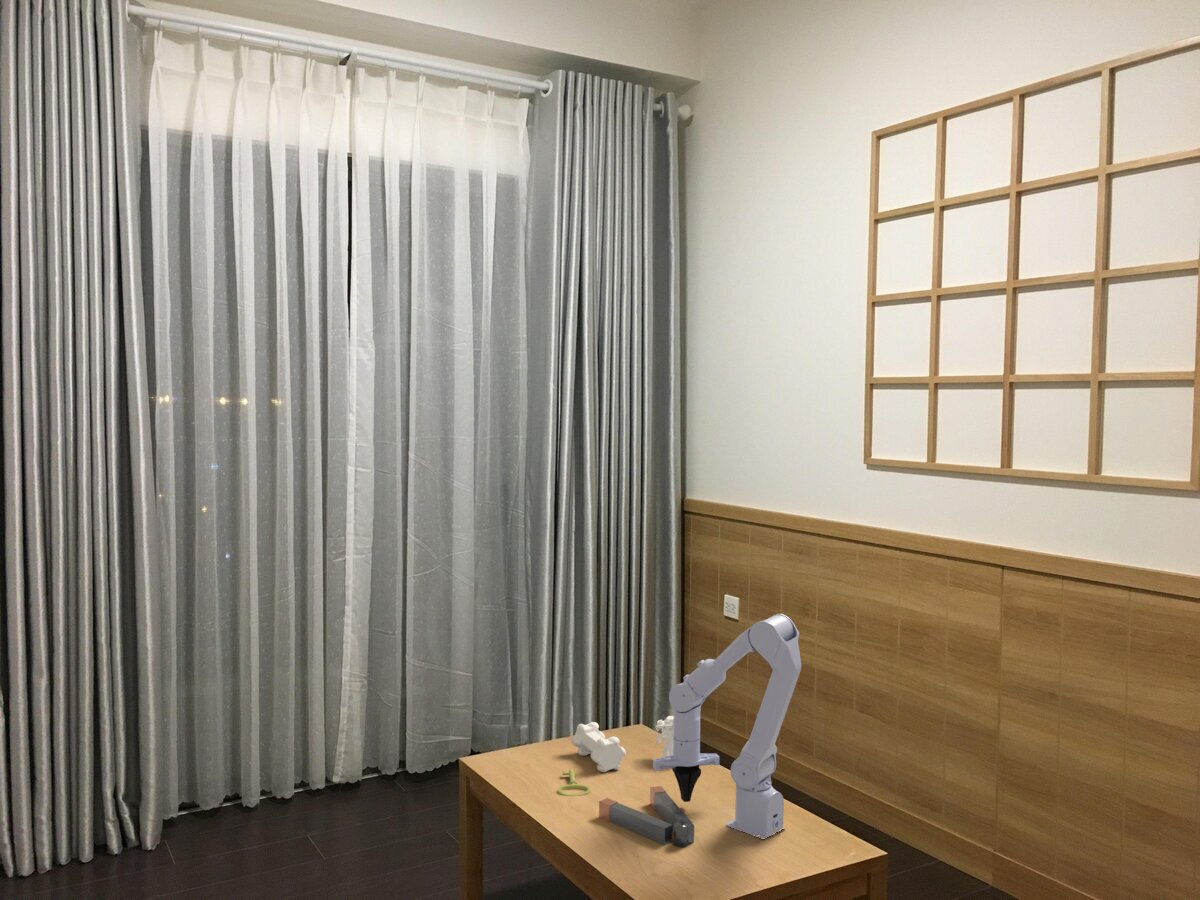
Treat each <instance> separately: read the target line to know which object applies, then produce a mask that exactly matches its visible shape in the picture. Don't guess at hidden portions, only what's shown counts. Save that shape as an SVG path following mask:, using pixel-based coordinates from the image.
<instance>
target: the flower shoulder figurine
mask: <svg viewBox="0 0 1200 900" xmlns="http://www.w3.org/2000/svg"><path fill="white" fill-rule="evenodd" d="M656 722H657V723H656V724H655V725H654V727H655V730H656V732H659V731H660V729H661V733H660V734H659V736H658V737H657V738H656V740H655V744H657V745H660V744H661V742H662V741H663V739H664V742H663V743H664V744H663V747H662V748H663V750H662V757H666V756H670V755H673V724H674V715H668V716H666V717H665V719H664V720H663V719H658V721H656Z"/></svg>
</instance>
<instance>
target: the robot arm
mask: <svg viewBox="0 0 1200 900" xmlns="http://www.w3.org/2000/svg"><path fill="white" fill-rule="evenodd" d="M799 636H800V631H799V630H798V629H797V626H796V625H795V623H794V621H793V620H792V619H791V618H790V617H789V616H787V615H786V614H783V613H777V614H774V615H772V616H770V617H769V618H767V619H763V620H760V621H758V622H755V623H753V625H752V626H750V627H749V628H748V629H745V630H743V632H741V633H740V634H739V635H738V636H737V637H736V638H735V639H734V640H733V641H732V642H731V643H730V644H729V645H728V646H727V647H726V648H725V649H724V650H723V651H722V652H721V654H719V655H718V656H717V657H716V658H715V659H714V658H713V659H712V658H706V659H705V660H704V659H702V660H700V661H699V662H698V663H696V666H697V667H696V668H695V670H693V671H692V672H691V673H689V674H686V675H684V676H683V678H682V679H683V682H681V683H676V684H675V685H673V686H672V688H671V690H669V694H668V701H669V703H670V706H671V707H672V708H673V717H674V724H673V755H670V756H666V757H663V756H662V757H660V758H659V757H658V758H653V759H652V769H653V770H654V771H655V772H660V771H661V770H669V769H670V770H671V769H672V771H673V774H674V776H675V778H676V781H677V784H678V785H677V786H678V788H679V793H680V798H681V800H682V801H683V802H684V803H686V802H687V803H688V802H691V798H692V794H693V791H694V788H695V787H696V783H697V781H698V780H699V778H700V776H701V775H702V769H701V768H700V767H701V766H711V765H713V766H720V756H719V755H718V753H701V709H702V705H703V704H704V702H705V700H706V698H707V697H708V696H709V695H710V694H711V693H713V692H714V691H715V690H716V689H717V688H718V687H719V686H720V685H722V684H723V683H724V682H725V680H726V678H727V671H728V670H729V669H730V668H731V667H733V666H734V665H735V664H736V663H737V662H738V661H740V660H741V659H742V658H743V657H745V656H746V655H747V654H748V653H755V652H758V653H759V654H760V656H761V657H762V658H763V659H764V660H765V662H767V663H768V664H769V665H770V668H771V669H772V671H771V672H772V673H771V674H770V678H769V680H768V683H767V686H766V690H765V692H764V695H763V697H762V701H761V705H760V707H759V709H758V713H757V715H756V718H755V721H754V724H753V728H752V731H751V733H750V736H749V739H748V740H747V742H746V743H745V744H744V746H743V748H742V749H741V750H740V751H741V752H740V753H739V756H738V757H737V758H736V759H734V761H732V763H731V766H730V776H731V779H732V781H733V782H734V784H735V802H734V803H735V811H734V812H735V813H734V814H735V815H734V816H735V817H734V819H733V820H731V821H728V822H726V827H728V828H730V827H731V828H730V829H733V828H734V829H733V830H736V829H737V830H736V831H738V830H740V831H739V832H741V831H743V832H746V833H748V834H747V835H749V834H751V835H755V836H758V835H760V836H758V837H760V838H766V837H768V836H770V835H772V834H773V833H775V832H777V831H779V830H780V829H782V828H783V825H784V816H785V815H784V813H785V811H784V807H785V804H784V803H785V801H784V796H783V794H782V793H781V792H779V791H777V790H776V789H775V788H774V787H773V786H772V779H771V778H772V777H771V775H772V774H773V773H774V772H775V771H776V768H777V759H776V758H777V757H776V756H777V751H778V747H777V745H776V742H777V739H778V736H779V733H780V730H781V727H782V725H783V723H784V720H785V716H786V714H787V711H788V708H789V705H790V702H791V700H792V697H793V693H794V691H795V688H796V685H797V683H798V680H799V677H800V673H801V671H802V660H801V652H800V645H799ZM743 832H742V833H743ZM746 833H745V834H746ZM751 835H750V836H751Z"/></svg>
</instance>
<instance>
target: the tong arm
mask: <svg viewBox="0 0 1200 900" xmlns="http://www.w3.org/2000/svg"><path fill="white" fill-rule="evenodd" d="M649 789H650V790H649V791H650V795H649V804H650V805H651V807H652V808H653V809H654V810H655V812H656V813H657V814H658V815H659V816H660V817H661V819H662V821H664V822H667V823H669V824H672V825H673V844H674V846H675V847H678V848H685V847H688V846H689V844H692V843H695V824H694V823H693V822H692V821H691V819H690V818H689V817H688V816H687V815H686V814H685V813H684V812H683V810H682V809H681V807H679V806H678V805H677V803H676V802H675V801H674V800H673V798H672V797H670V796H669V794H668V793H667V790H665V789H664V788H663V786H661V785H660V786H650V788H649Z"/></svg>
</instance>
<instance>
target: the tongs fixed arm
mask: <svg viewBox="0 0 1200 900" xmlns="http://www.w3.org/2000/svg"><path fill="white" fill-rule="evenodd" d="M598 803H599V804H598V805H599V806H598V818H599V819H602V820H604V821H606V822H610V823H612V824H614V825H616V826H619V827H620V828H623V829H625V830H628V831H630V832H633V833H635V834H638V835H640V836H642V837H644V838H647V839H649V840H651V841H653V842H656V843H658V844H660V845H662V846H666V845H668V844H670V843H672V842H673V835H674V832H673V825H672V824H669V823H667V822H665V821H664V820H663V819H662V820H661V819H660V818H657V817H654V816H652V815H649V814H647V813H644V812H642V811H640V810H637V809H634V808H633V807H629V806H627V805H626V804H622V803H620V802H618V801H616V800H614V799H611V798H609V797H607V798H603V799H602V800H599V802H598Z"/></svg>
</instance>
